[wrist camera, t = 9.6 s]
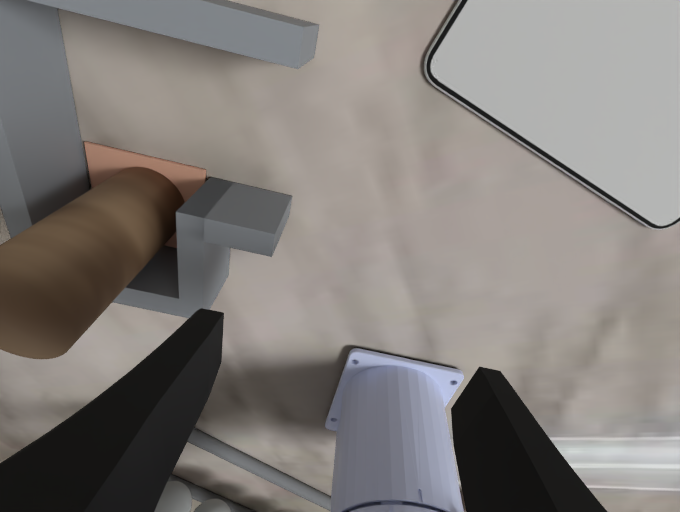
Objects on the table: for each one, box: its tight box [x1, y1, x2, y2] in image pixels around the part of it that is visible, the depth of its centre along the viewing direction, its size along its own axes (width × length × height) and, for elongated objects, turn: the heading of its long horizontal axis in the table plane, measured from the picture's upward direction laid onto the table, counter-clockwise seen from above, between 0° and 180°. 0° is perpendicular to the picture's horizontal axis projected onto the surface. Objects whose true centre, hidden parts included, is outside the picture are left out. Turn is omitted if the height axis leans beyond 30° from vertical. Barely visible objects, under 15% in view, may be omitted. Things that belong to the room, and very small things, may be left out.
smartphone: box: [424, 0, 680, 230], centre depth 15 cm, size 7×1×15 cm
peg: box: [0, 167, 185, 359], centre depth 16 cm, size 4×4×9 cm
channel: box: [0, 0, 319, 318], centre depth 17 cm, size 14×12×4 cm
